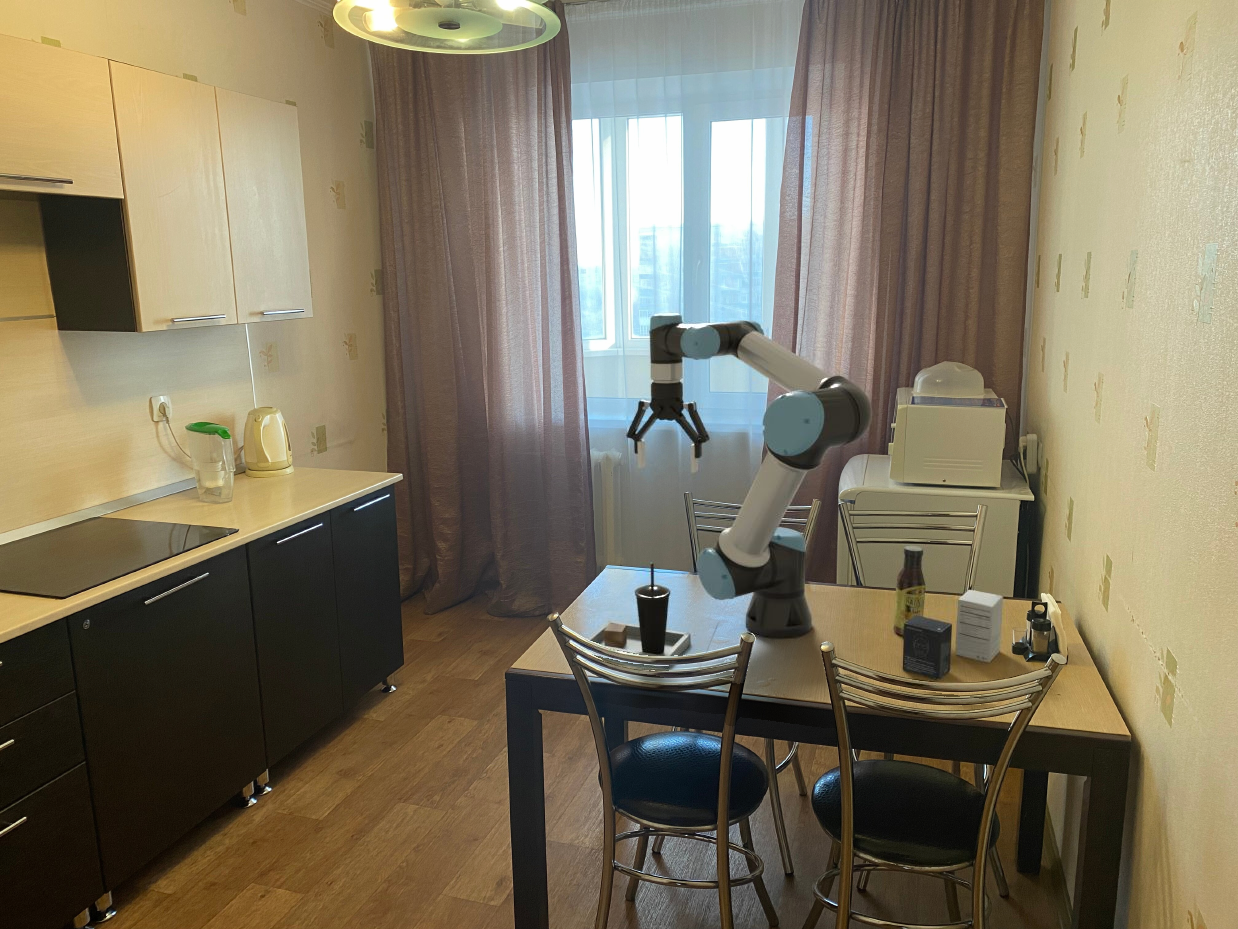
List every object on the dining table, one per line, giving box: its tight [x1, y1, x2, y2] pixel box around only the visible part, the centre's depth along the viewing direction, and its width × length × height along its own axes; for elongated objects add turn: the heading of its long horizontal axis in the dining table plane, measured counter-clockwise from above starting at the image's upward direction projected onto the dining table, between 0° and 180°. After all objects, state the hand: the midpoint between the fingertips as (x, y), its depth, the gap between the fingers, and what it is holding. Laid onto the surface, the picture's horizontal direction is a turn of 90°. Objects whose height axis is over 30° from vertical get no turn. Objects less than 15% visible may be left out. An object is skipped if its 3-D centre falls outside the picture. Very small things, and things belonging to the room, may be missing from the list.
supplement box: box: [954, 589, 1004, 663], centre depth 191 cm, size 7×7×13 cm
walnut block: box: [604, 624, 627, 649], centre depth 199 cm, size 4×4×4 cm
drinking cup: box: [634, 562, 671, 655], centre depth 193 cm, size 8×8×20 cm
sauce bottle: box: [893, 545, 927, 636], centre depth 201 cm, size 6×6×20 cm
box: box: [902, 615, 953, 681], centre depth 183 cm, size 8×6×11 cm
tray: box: [586, 620, 692, 669], centre depth 197 cm, size 20×14×3 cm
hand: (667, 469), depth 215 cm, fingers open, 13 cm apart
